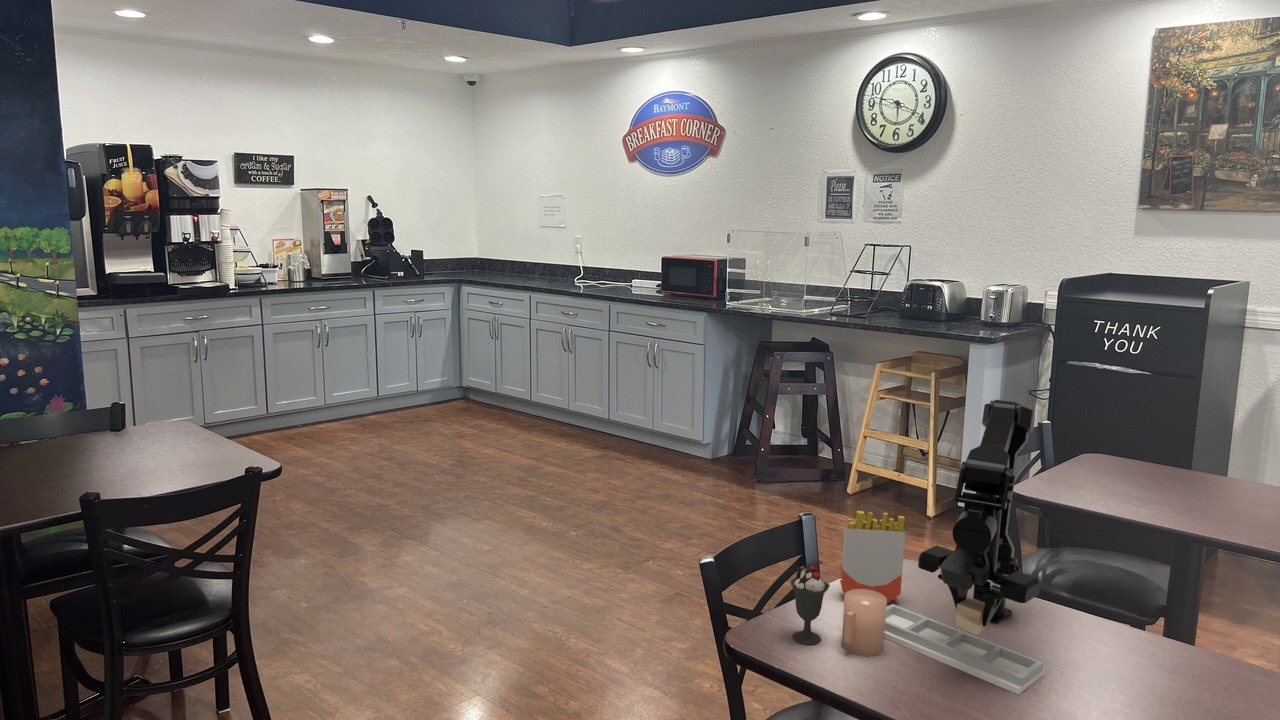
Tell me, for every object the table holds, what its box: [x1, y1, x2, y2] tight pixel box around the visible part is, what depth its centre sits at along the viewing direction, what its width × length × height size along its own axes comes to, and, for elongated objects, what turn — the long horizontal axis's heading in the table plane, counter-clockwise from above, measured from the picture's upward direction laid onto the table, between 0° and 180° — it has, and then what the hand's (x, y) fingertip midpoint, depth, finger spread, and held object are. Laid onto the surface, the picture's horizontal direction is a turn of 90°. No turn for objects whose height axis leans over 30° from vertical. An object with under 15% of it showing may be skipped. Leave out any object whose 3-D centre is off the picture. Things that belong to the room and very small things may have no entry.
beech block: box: [954, 596, 991, 636], centre depth 152 cm, size 4×4×4 cm
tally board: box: [884, 603, 1045, 695], centre depth 156 cm, size 9×28×2 cm, turn 42°
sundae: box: [789, 560, 831, 646], centre depth 159 cm, size 7×7×15 cm
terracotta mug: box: [841, 589, 888, 658], centre depth 156 cm, size 8×7×9 cm
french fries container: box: [839, 510, 906, 604], centre depth 174 cm, size 5×11×18 cm, turn 83°
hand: (972, 621), depth 153 cm, fingers closed on beech block, 4 cm apart
